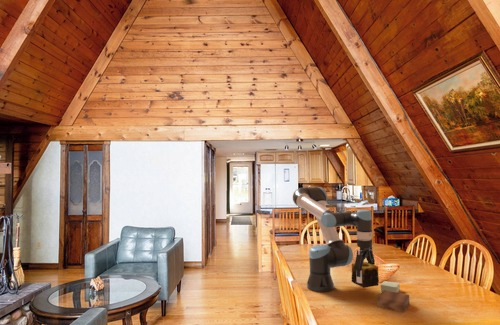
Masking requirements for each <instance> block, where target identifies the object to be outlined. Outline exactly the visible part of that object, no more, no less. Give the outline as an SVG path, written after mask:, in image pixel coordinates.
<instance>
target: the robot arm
mask: <svg viewBox="0 0 500 325" xmlns="http://www.w3.org/2000/svg"><path fill="white" fill-rule="evenodd" d="M328 200H329V199H328V193H327V191H326V190H325V189H324V187H320V186H313V187H311V186H310V187H299V188H297V189H295V191H294V192H293V194H292V201H293V203H294V204H295V206H297V207H298V208H300V209H304V210H306V211H307V212H309V214H312V215H313V216H315V219H316V221H317V224H318V226H319V229H320V231H321V234H322V236H323V238H324V241H325V243H326V244H317V245H313V246H311V247H310V248H309V254H308V257H309V275H308V279H307V282H306V288H307V289H308V290H310V291H313V292H317V293H318V292H319V293H322V292H323V293H325V292H331V291H333V290H334V289H335V283H334V280H333V278H332V275H331V268H332V269H333V268H339V267H347V266H350V264H352V262H353V258H354V252H353V249H352V247H351V246H350V245H348V244H346V243H345V241H344V240H343V239H341V238H340V236H339V233H338V231H337V230H336V228H337V227H348V226H352V227H353V226H354V227H356V238H357V239H356V245H357V247H359V250H358V249H357V250H356V256H355V261H354V263H355V266H354V270H356V275H357V283H361V284H362V270H361V269H362V265H363V262H365V260H366V262H368V263H370V264H373V265H375V264H376V263H375V262H376V260H375V257H374V256H375V255H374V252H373V240H372V239H373V227H372V226H373V225H372V224H373V221H372V220H373V218H372V211H371V210H369V209H357V210H356V212H355V211H351V210H344V211H341V212H334V211H332V210H331V209H330V208H327V207H326V206H327V205H328V204H327V202H328Z"/></svg>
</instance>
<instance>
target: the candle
mask: <svg viewBox="0 0 500 325" xmlns="http://www.w3.org/2000/svg"><path fill="white" fill-rule="evenodd" d="M354 266H355V262H354V263H351V283H353V284H355V285H356V286H360V287H361V288H362V289H365V288H370V287H372V288H373V287H376V286H379V282H380V281H379V279H380V278H379V266H377V265H373V264H370V263H368V261H364V262H363V265H362V269H361V270H362V284H361V283H357V275H356V270H354Z"/></svg>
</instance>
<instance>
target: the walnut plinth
mask: <svg viewBox="0 0 500 325" xmlns="http://www.w3.org/2000/svg"><path fill="white" fill-rule="evenodd" d="M410 305H411V304H410V294H406V293H401V292H398V293H397V292H391V291H386V290H384V291H383V292H381V293H380V294H378V295H377V296H376V306H377V308H381V309H386V310H391V311H395V312H399V313H405V311H406V310H407V308H409V306H410Z"/></svg>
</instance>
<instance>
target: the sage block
mask: <svg viewBox="0 0 500 325" xmlns="http://www.w3.org/2000/svg"><path fill="white" fill-rule="evenodd" d="M384 290H386V291H391V292H397V293H400V282H395V281H394V282H393V281H386V280H385V281H383V282H382V283H380V292H381V293H382V292H383V291H384Z"/></svg>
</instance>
